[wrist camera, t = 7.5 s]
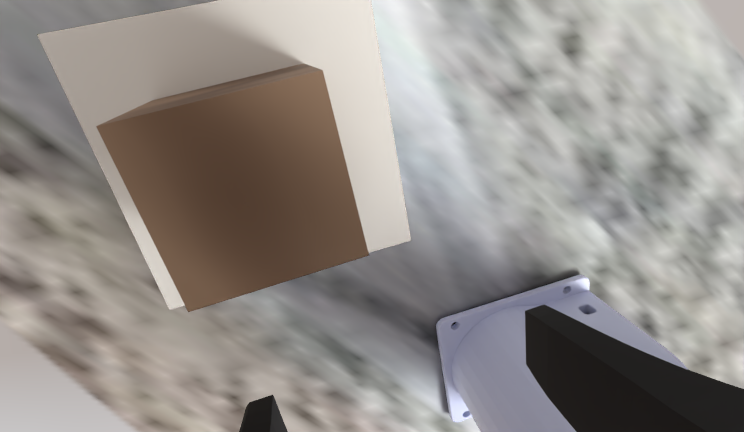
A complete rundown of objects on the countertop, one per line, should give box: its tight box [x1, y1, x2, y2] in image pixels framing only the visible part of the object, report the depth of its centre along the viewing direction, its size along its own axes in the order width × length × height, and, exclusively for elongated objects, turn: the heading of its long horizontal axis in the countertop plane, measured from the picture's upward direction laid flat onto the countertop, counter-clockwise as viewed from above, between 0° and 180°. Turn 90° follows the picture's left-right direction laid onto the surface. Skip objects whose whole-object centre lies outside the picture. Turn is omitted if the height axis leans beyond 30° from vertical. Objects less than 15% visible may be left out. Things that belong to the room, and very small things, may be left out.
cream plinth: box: [37, 0, 411, 310], centre depth 16 cm, size 10×10×4 cm
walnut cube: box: [96, 63, 369, 312], centre depth 12 cm, size 5×5×5 cm
